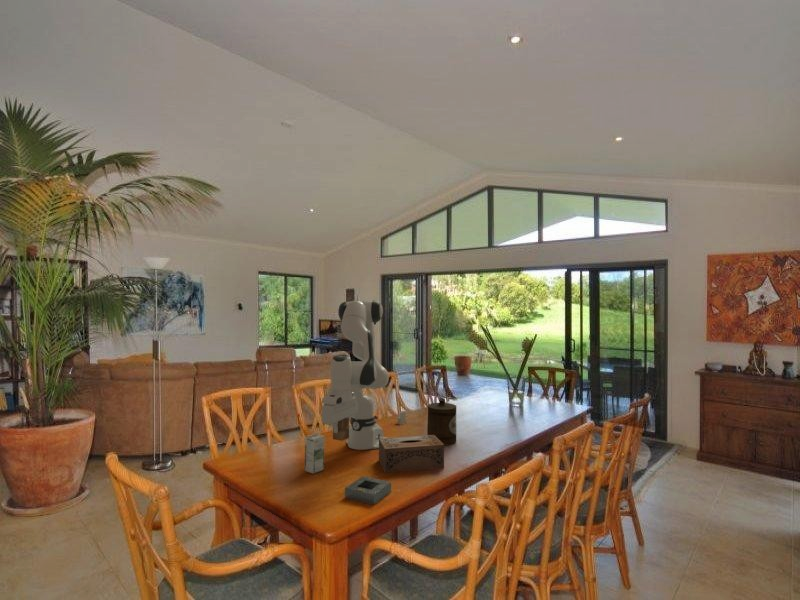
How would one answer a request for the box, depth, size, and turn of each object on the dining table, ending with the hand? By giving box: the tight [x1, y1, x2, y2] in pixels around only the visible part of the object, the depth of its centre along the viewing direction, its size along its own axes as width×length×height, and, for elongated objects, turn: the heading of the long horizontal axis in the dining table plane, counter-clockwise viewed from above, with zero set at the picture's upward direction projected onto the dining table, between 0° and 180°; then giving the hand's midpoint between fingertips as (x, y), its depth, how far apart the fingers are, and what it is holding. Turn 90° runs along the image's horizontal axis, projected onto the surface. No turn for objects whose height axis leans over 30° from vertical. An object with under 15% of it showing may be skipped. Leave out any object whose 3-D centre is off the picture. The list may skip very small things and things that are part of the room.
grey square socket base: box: [344, 475, 392, 506], centre depth 157 cm, size 12×12×4 cm
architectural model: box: [395, 410, 407, 425], centre depth 254 cm, size 3×7×7 cm, turn 145°
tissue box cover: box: [378, 434, 445, 473], centre depth 188 cm, size 26×14×10 cm, turn 103°
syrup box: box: [304, 433, 325, 474], centre depth 180 cm, size 6×6×14 cm
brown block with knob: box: [332, 418, 350, 442], centre depth 173 cm, size 5×5×9 cm
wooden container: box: [426, 397, 457, 447], centre depth 220 cm, size 15×15×22 cm
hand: (340, 430), depth 173 cm, fingers closed on brown block with knob, 5 cm apart
